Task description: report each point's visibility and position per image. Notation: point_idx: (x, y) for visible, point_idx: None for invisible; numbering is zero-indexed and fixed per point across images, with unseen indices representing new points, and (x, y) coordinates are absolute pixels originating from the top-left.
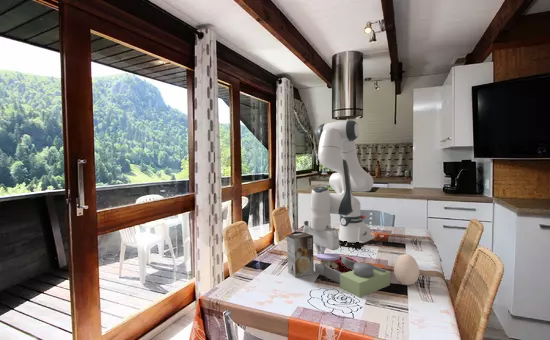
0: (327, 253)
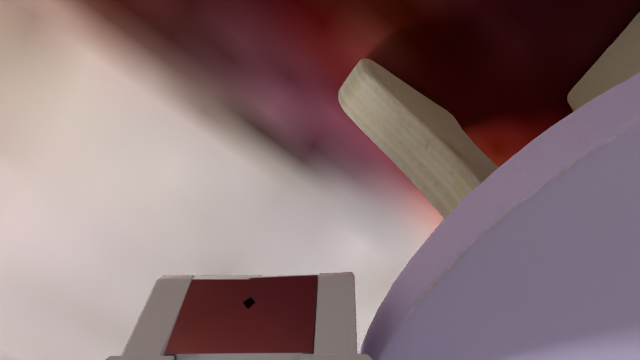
0: (469, 260)
